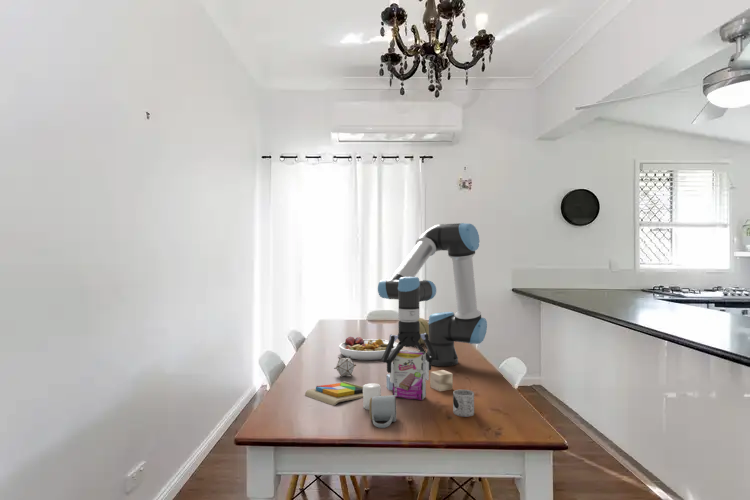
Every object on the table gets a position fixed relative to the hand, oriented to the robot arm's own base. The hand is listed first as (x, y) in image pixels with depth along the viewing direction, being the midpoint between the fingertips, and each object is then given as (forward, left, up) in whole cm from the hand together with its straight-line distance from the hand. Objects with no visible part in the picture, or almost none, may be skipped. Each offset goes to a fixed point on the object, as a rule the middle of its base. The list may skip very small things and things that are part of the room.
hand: (409, 380), depth 170 cm
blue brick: (+1, -12, -6) cm, 14 cm away
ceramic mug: (+14, +21, -6) cm, 26 cm away
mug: (-12, +21, -6) cm, 25 cm away
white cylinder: (+15, +7, -6) cm, 18 cm away
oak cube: (-15, -8, -6) cm, 18 cm away
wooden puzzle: (+24, -9, -7) cm, 27 cm away
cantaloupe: (-31, -89, -6) cm, 94 cm away
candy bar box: (0, 0, -6) cm, 6 cm away
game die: (+18, -33, -6) cm, 38 cm away
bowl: (0, -71, -7) cm, 71 cm away
